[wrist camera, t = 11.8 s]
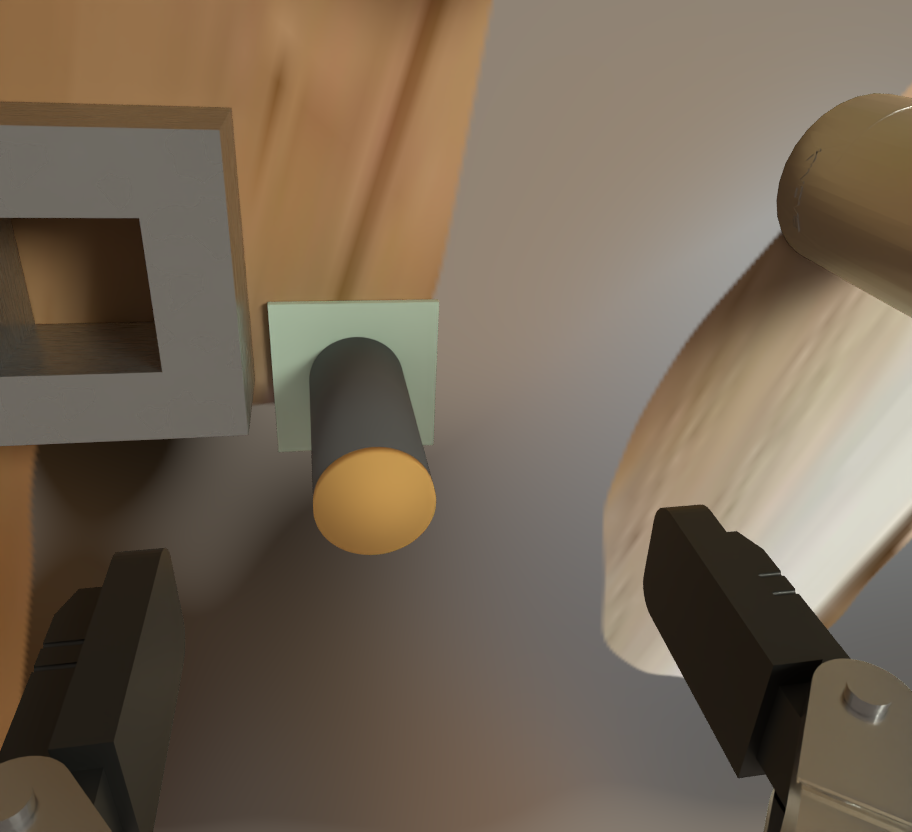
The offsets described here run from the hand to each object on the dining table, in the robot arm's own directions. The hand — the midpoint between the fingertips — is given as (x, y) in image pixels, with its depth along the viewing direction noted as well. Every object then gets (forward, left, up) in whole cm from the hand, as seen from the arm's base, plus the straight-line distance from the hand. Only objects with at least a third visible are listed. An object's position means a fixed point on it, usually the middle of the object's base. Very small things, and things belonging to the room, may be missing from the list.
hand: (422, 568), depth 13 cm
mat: (0, +11, -29) cm, 31 cm away
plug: (0, +11, -29) cm, 31 cm away
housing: (+12, +4, -29) cm, 32 cm away
